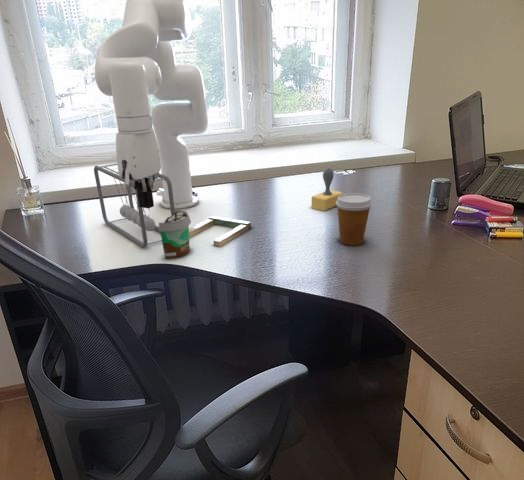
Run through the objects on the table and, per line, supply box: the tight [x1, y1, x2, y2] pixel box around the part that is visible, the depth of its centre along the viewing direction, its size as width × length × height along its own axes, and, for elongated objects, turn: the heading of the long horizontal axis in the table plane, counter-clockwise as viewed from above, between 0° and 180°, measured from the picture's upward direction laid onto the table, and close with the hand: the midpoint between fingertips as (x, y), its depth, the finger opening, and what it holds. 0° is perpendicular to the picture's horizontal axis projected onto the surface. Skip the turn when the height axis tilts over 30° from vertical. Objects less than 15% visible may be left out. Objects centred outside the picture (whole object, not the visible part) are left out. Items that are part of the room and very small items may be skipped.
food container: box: [158, 209, 192, 260], centre depth 140 cm, size 12×6×10 cm, turn 168°
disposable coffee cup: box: [336, 192, 373, 246], centre depth 142 cm, size 10×10×12 cm
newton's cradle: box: [93, 163, 175, 248], centre depth 153 cm, size 30×10×18 cm, turn 36°
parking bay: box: [189, 215, 252, 248], centre depth 154 cm, size 14×17×2 cm
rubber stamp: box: [311, 167, 344, 212], centre depth 170 cm, size 10×6×12 cm, turn 137°
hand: (146, 206), depth 126 cm, fingers closed
